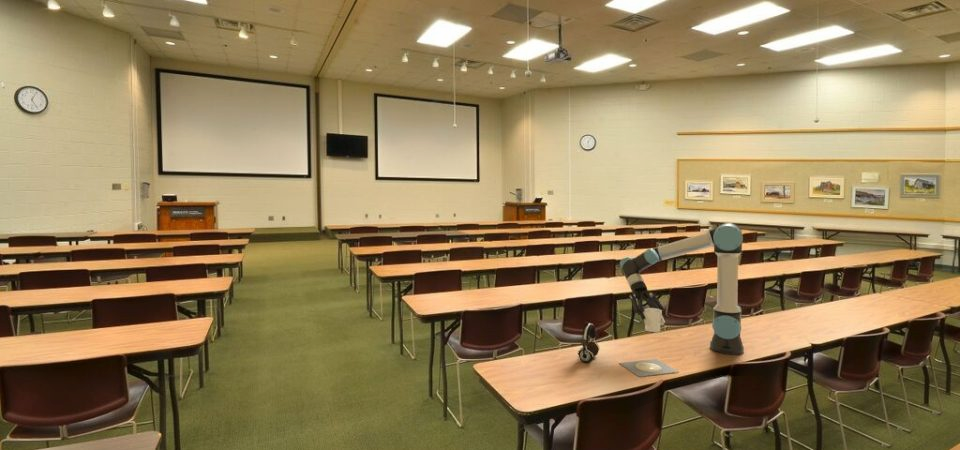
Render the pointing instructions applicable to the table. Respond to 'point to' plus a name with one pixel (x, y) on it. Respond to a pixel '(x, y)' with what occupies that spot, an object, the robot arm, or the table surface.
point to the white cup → (653, 319)
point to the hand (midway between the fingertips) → (655, 324)
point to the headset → (588, 343)
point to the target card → (648, 367)
